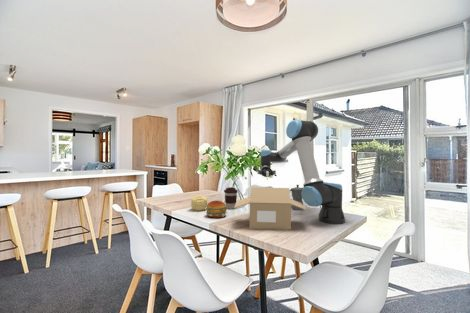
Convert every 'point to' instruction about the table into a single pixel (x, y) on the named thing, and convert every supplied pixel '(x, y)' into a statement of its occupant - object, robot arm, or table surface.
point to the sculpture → (199, 203)
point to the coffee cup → (230, 197)
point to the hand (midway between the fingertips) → (267, 174)
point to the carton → (269, 214)
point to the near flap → (270, 195)
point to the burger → (216, 209)
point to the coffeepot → (297, 196)
